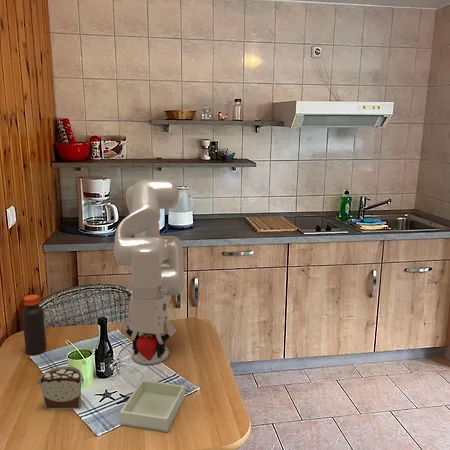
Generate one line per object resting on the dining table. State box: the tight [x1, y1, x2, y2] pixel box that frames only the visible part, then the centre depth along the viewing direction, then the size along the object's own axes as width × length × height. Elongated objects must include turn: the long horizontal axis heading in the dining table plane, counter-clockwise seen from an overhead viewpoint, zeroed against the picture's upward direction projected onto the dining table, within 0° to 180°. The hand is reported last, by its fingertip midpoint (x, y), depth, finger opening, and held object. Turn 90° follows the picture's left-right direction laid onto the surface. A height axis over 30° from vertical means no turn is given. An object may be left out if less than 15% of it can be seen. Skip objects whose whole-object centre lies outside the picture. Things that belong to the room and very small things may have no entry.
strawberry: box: [136, 333, 158, 361], centre depth 121 cm, size 6×8×10 cm
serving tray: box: [119, 379, 186, 433], centre depth 125 cm, size 15×13×4 cm
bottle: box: [21, 294, 48, 356], centre depth 154 cm, size 7×7×20 cm
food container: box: [37, 365, 85, 410], centre depth 127 cm, size 12×6×10 cm, turn 92°
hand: (149, 353), depth 121 cm, fingers closed on strawberry, 6 cm apart
